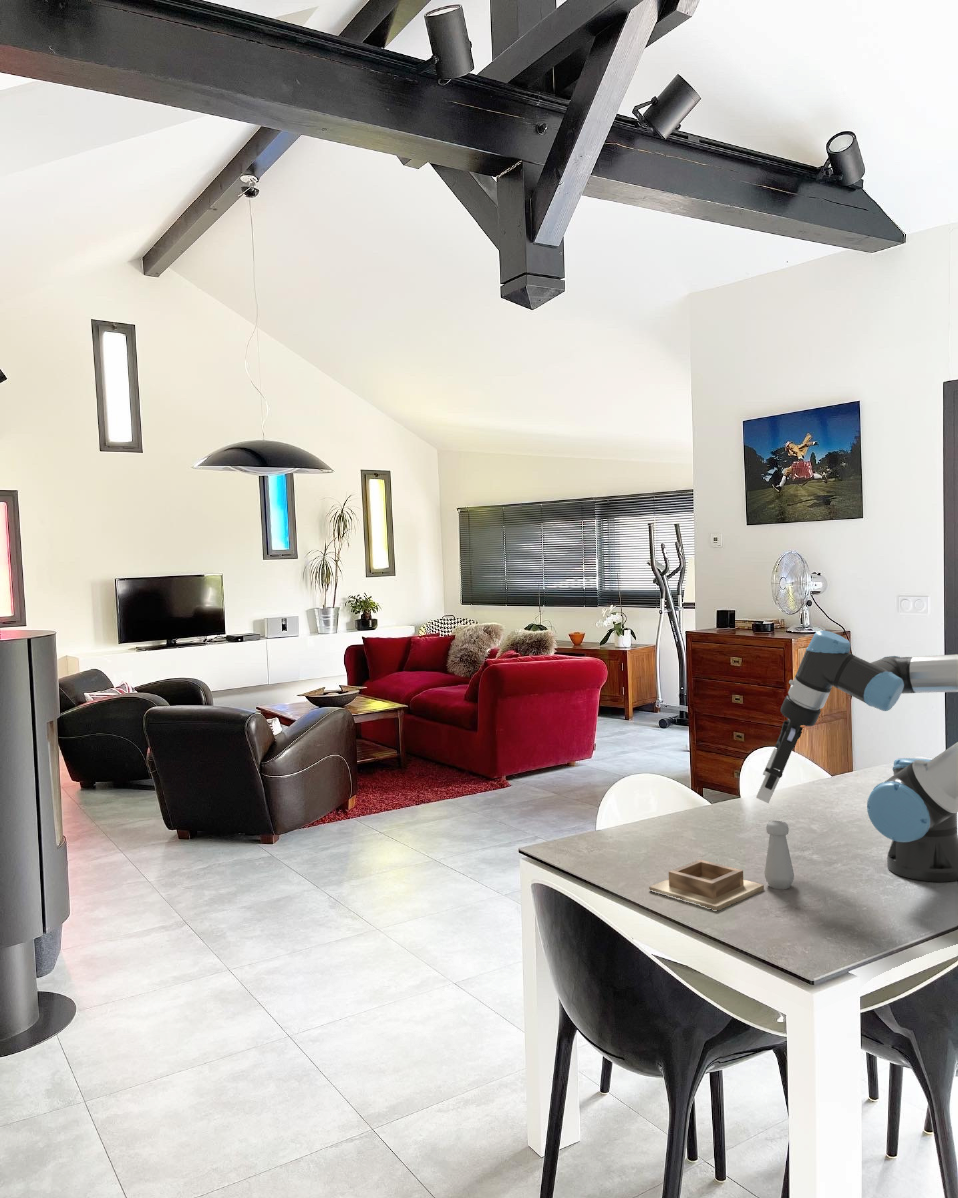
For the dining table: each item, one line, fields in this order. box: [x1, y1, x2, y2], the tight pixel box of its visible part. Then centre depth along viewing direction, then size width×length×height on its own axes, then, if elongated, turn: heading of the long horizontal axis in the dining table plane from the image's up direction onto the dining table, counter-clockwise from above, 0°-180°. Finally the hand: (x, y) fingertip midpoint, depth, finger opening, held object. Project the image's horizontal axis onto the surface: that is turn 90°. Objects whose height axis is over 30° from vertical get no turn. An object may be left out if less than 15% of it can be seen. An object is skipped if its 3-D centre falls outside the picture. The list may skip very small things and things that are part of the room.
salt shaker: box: [763, 820, 795, 890], centre depth 187 cm, size 6×6×13 cm
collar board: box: [648, 859, 765, 911], centre depth 186 cm, size 16×16×4 cm
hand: (765, 788), depth 200 cm, fingers open, 13 cm apart
